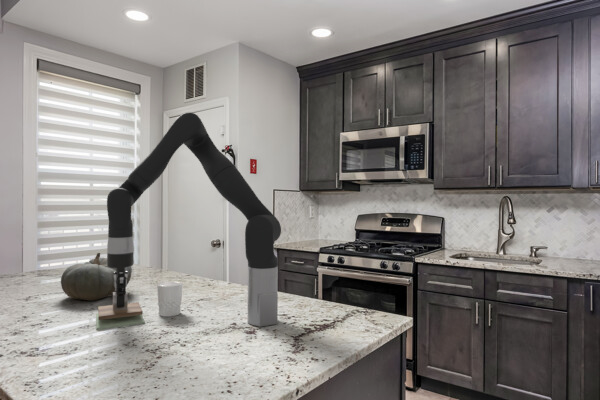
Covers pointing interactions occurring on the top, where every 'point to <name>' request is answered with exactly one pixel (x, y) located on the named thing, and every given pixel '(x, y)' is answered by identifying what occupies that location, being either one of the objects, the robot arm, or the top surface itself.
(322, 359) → the top surface
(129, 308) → the lid
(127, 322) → the mat
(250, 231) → the robot arm
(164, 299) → the white cup
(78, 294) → the gourd
